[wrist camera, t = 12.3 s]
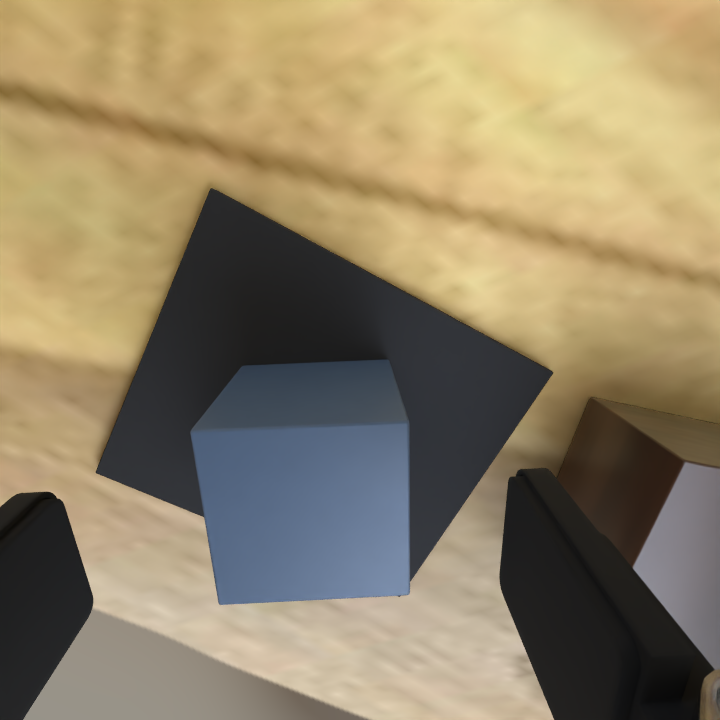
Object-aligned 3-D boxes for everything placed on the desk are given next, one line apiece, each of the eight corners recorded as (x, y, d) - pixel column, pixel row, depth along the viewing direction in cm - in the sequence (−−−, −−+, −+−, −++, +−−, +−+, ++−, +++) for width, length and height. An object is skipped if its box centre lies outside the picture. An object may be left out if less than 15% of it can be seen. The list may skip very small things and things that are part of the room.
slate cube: (257, 493, 17) (218, 606, 12) (241, 364, 16) (188, 430, 10) (391, 486, 17) (410, 596, 12) (389, 358, 16) (410, 421, 11)
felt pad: (100, 467, 17) (94, 473, 17) (214, 188, 14) (210, 187, 14) (398, 590, 19) (400, 597, 19) (549, 369, 17) (554, 372, 16)
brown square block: (523, 557, 19) (582, 666, 14) (589, 396, 17) (685, 460, 12) (683, 585, 20) (791, 697, 15) (767, 434, 18) (922, 508, 13)
